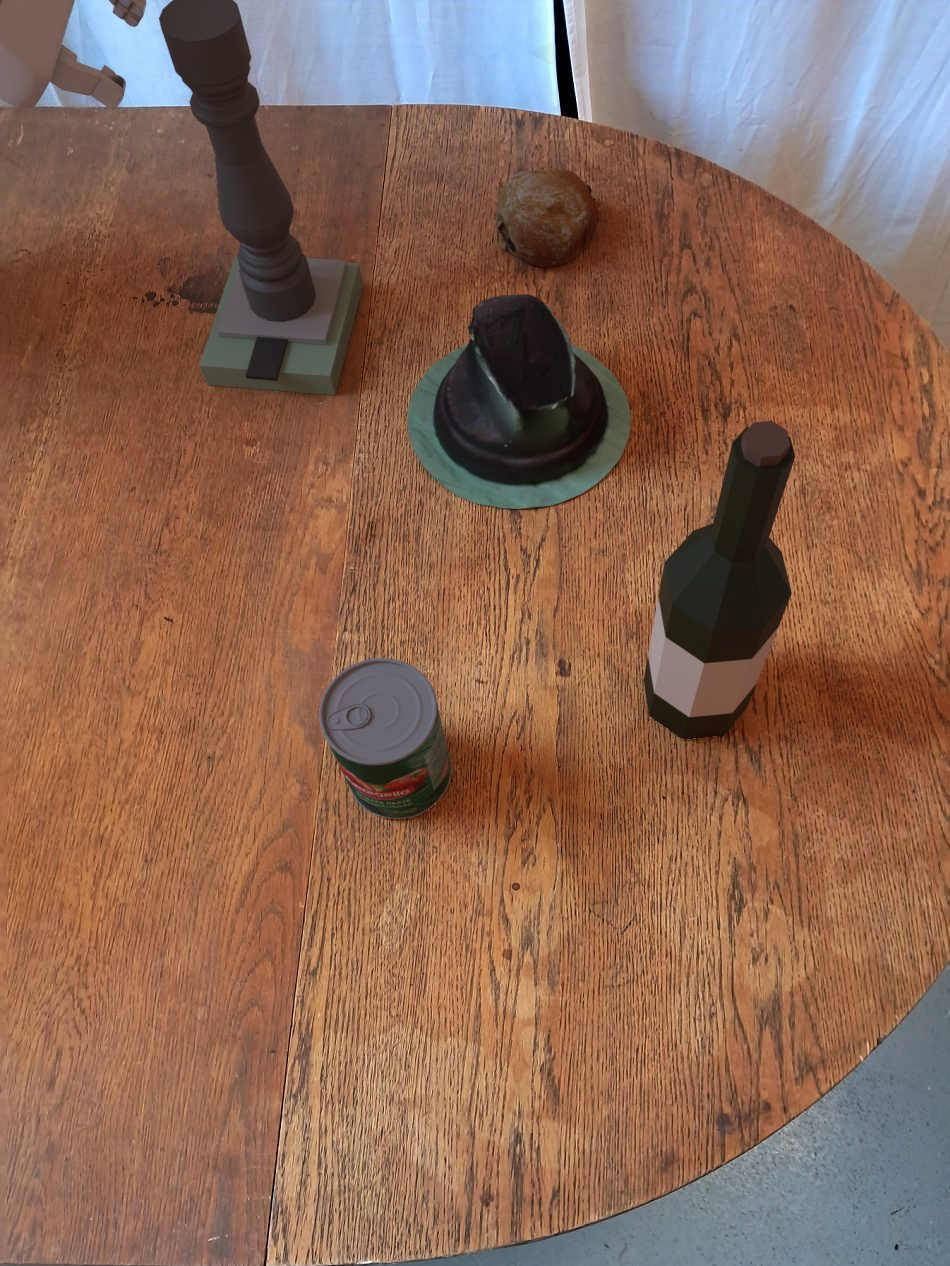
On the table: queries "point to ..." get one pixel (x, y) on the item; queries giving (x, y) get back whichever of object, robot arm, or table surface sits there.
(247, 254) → the candle holder
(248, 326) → the scale
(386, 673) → the canned tomato
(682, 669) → the wine bottle
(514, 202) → the bread roll
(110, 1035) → the table surface
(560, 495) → the black hat
